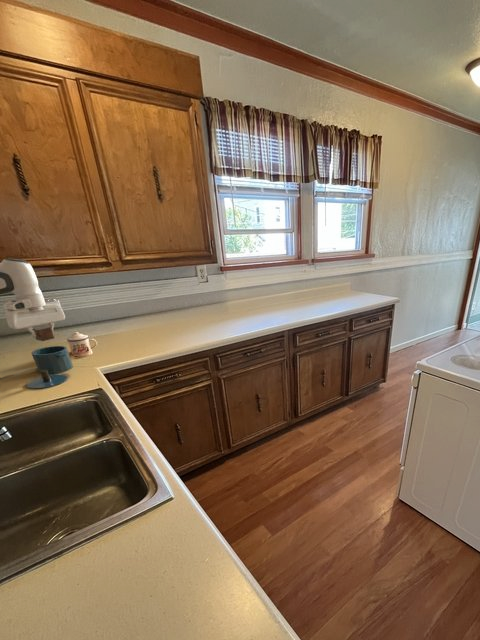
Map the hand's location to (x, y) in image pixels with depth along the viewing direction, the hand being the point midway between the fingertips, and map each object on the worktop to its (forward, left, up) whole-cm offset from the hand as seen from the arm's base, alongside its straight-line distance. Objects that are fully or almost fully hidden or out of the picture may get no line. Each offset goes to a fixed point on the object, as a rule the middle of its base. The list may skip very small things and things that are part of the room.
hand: (43, 335), depth 139 cm
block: (0, 0, -2) cm, 2 cm away
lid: (-10, -12, -16) cm, 22 cm away
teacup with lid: (+20, +10, -16) cm, 28 cm away
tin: (0, 0, -16) cm, 16 cm away
